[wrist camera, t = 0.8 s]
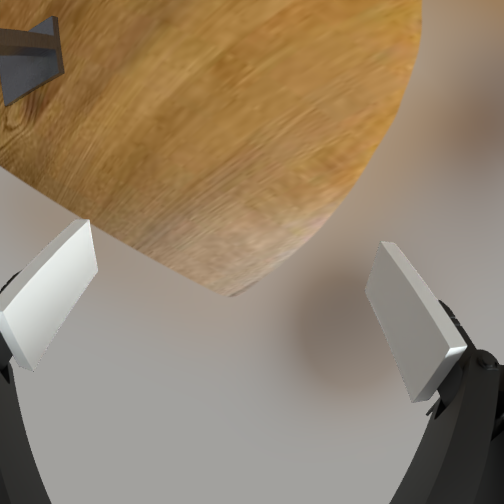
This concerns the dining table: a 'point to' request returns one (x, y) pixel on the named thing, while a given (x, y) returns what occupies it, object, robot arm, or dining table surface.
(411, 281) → the robot arm
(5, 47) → the stand
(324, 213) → the dining table surface
